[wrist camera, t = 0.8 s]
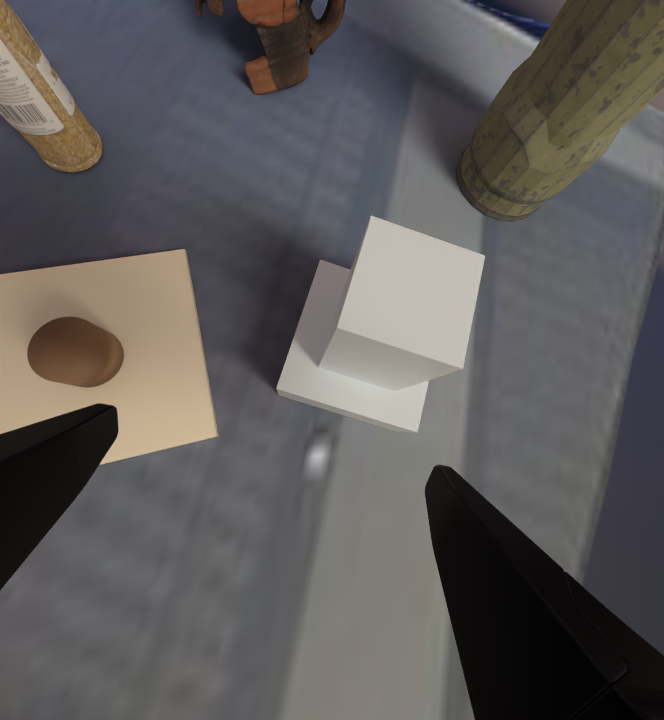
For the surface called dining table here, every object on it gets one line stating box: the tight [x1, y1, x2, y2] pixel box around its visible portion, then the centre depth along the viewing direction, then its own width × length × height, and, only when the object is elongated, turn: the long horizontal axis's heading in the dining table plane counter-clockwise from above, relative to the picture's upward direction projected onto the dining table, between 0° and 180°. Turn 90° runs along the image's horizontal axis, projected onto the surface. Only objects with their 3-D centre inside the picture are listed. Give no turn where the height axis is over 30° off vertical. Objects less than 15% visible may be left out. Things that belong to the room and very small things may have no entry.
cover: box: [276, 216, 485, 432], centre depth 18 cm, size 9×9×12 cm
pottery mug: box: [196, 0, 346, 94], centre depth 27 cm, size 12×10×8 cm
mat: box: [0, 249, 218, 465], centre depth 21 cm, size 14×14×1 cm
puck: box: [27, 317, 124, 388], centre depth 20 cm, size 4×4×2 cm
